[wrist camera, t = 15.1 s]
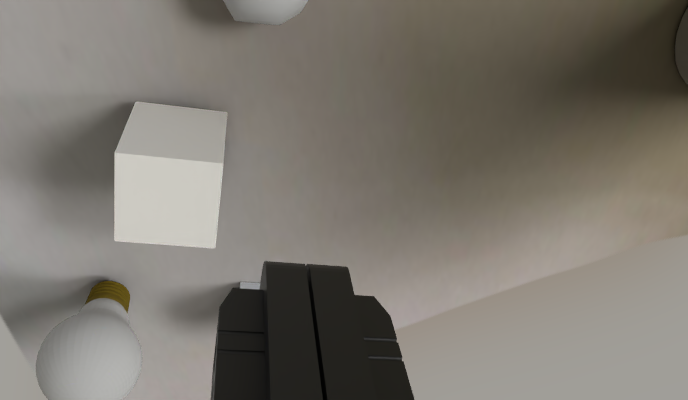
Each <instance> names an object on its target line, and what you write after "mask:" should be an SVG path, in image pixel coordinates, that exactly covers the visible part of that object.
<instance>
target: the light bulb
mask: <svg viewBox="0 0 688 400" xmlns="http://www.w3.org/2000/svg"><path fill="white" fill-rule="evenodd" d="M129 301H130V294H129V291H128V290H127V288H126V287H125V286H123V285H122V284H120V283H117V282H114V281H103V282H100V283H98V284H96V285H95V286H94V287H93V288H92V289H91V292H90V294H89V296H88V299H87V301H86V303H85V305H84V306H83V307H82V308H81V310H80V311H79V313H78V314H77V315H75V316H72V317H70V318H68V319H66V320H64V321H63V322H61V323H60V324H58V325H57V326H56V327H55V328H54V329H53V330H52V331H51V332H50V333H49V334H48V336H47V337H46V338H45V340H44V341H43V343H42V345H41V347H40V350H39V352H38V356H37V361H36V376H37V380H38V383H39V386H40V388H41V390H42V392H43V394H44V395H45V396H46V398H47V399H48V400H122V399H124V398H125V397H126V396H127V395H128V393H129V392H130V391H131V390H132V388H133V387H134V385H135V383H136V382H137V380H138V377H139V374H140V371H141V366H142V351H141V345H140V343H139V340H138V338H137V336H136V334H135V333H134V331H133V330H132V329H131V327H130V323H129V317H128V314H127V313H128V307H129Z"/></svg>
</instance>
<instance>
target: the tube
mask: <svg viewBox="0 0 688 400" xmlns="http://www.w3.org/2000/svg"><path fill="white" fill-rule="evenodd" d="M223 1H224V3H225V4H226V6H227V8H228V10H229V11H230V13H231V15H232V17H233V18H234V20H235V21H241V22H250V23H259V24H268V25H281V24H282V23H284V22H286V21H288V20H289V19H291V18H293V17H294V16H296V15H298V14H299V13H301V11H302V10H303V8H304V6H305V5H306V3H307V1H308V0H223Z"/></svg>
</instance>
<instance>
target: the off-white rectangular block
mask: <svg viewBox="0 0 688 400" xmlns="http://www.w3.org/2000/svg"><path fill="white" fill-rule="evenodd" d="M226 125H227V112H222V111H214V110H205V109H197V108H188V107H180V106H171V105H163V104H154V103H146V102H137V101H136V102H135V104H134V107H133V109H132V111H131V114H130V116H129V119H128V121H127V124H126V126H125V128H124V131H123V133H122V136H121V138H120V141H119V143H118V146H117V148H116V150H115V189H114V241H120V242H133V243H147V244H160V245H174V246H188V247H201V248H215V246H216V236H217V226H218V215H219V205H220V195H221V185H222V175H223V164H224V152H225V138H226Z"/></svg>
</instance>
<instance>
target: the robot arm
mask: <svg viewBox="0 0 688 400" xmlns="http://www.w3.org/2000/svg"><path fill="white" fill-rule="evenodd" d="M675 60H676V64H677V67H678V71H679V74H680V75H681V77H682V78H683V80H684V81H685V83H686V84H687V85H688V8H687V10H686V12H685V13H684V15H683V17H682V20H681V23H680V26H679V29H678V31H677V36H676V43H675ZM396 340H397V338H396V334H395V331H394V327H393V324H392V320H391V317H390V315H389V314H388V313H387V312H386V310H385V309H384V308H383V307H382V306H381V304H380V303H379V302H378V301H377V300H376V298H375V297H374V296H359V295H354V291H353V287H352V282H351V278H350V273H349V270H348V268H347V267H342V266H327V265H313V264H307V265H306V266H305V264H297V263H282V262H268V261H265V262H264V264H263V269H262V276H261V282H260V289H259V290H258V289H242V288H233V289H232V290H231V292H230V293H229V294H228V296H227V297H226V299H225V300H224V302H223V303H222V304H221V306H220V308H219V317H218V327H217V336H216V345H215V355H214V364H213V375H212V390H211V400H414V397H413V394H412V390H411V386H410V383H409V380H408V376H407V372H406V369H405V365H404V362H403V361H402V355H401V351H400V348H399V345H398V343H397V342H396Z"/></svg>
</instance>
